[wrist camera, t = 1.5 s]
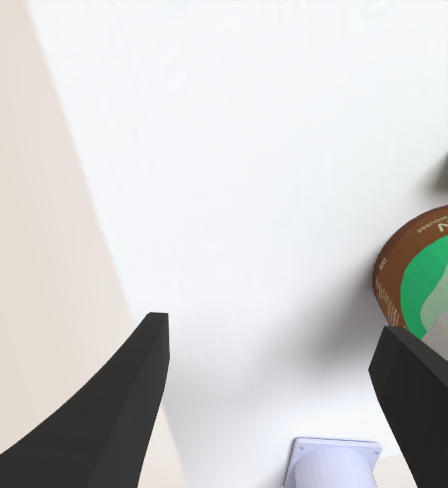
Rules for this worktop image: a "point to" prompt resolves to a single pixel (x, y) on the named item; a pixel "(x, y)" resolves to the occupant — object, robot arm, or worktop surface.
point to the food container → (417, 279)
